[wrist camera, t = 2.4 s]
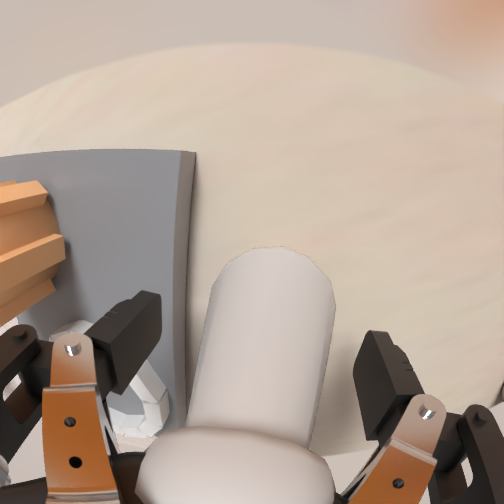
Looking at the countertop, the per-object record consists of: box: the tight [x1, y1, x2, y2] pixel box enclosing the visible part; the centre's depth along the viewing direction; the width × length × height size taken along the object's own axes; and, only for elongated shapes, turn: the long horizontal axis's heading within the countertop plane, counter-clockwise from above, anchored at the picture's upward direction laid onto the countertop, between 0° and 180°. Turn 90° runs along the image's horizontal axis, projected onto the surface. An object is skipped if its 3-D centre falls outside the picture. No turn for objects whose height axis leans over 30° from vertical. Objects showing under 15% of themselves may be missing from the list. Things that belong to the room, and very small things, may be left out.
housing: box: [0, 149, 196, 438], centre depth 11 cm, size 16×21×13 cm
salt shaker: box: [135, 246, 336, 504], centre depth 9 cm, size 6×6×13 cm
